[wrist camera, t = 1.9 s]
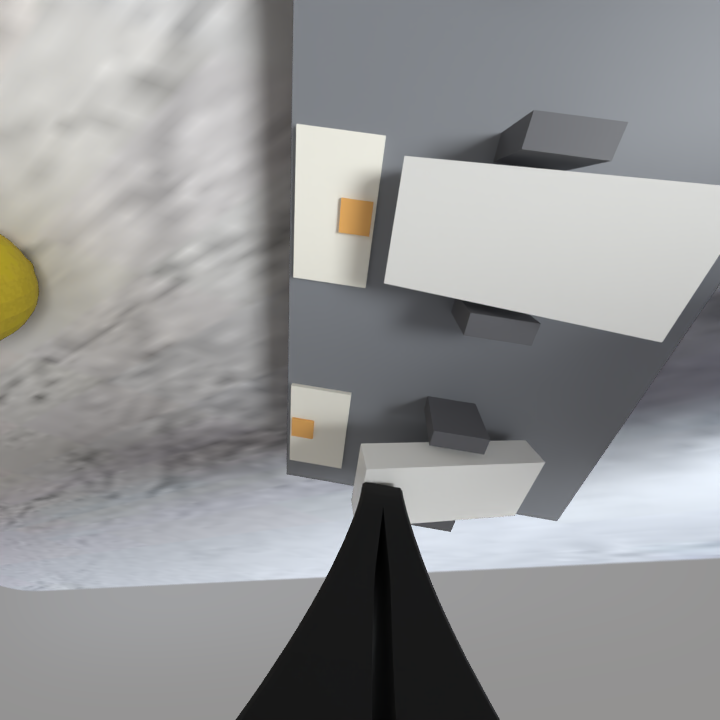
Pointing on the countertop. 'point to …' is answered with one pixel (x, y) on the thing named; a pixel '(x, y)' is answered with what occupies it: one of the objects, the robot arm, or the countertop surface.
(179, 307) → the countertop surface
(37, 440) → the countertop surface
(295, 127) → the switch panel
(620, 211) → the switch mid
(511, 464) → the switch
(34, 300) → the lemon
